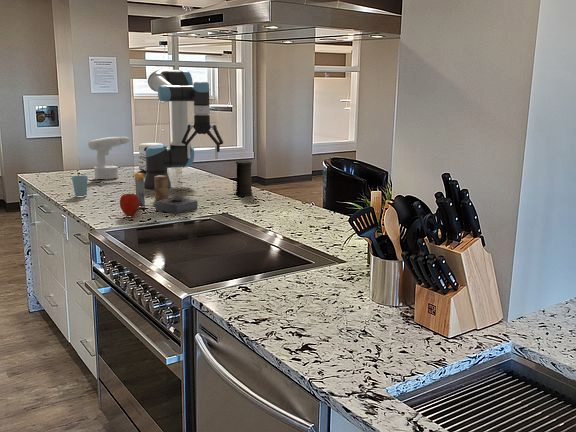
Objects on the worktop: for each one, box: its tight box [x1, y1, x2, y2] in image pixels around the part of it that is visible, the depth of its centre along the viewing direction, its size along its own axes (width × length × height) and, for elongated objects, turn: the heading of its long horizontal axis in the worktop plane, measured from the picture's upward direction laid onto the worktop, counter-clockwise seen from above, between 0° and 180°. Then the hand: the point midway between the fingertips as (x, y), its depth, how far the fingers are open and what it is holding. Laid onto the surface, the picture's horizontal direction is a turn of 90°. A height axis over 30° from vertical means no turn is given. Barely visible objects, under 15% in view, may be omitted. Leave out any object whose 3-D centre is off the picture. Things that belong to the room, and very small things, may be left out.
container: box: [235, 160, 253, 197], centre depth 305 cm, size 9×9×18 cm
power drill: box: [87, 136, 130, 180], centre depth 345 cm, size 8×24×25 cm, turn 122°
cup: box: [71, 175, 89, 197], centre depth 294 cm, size 8×8×10 cm
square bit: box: [154, 175, 170, 201], centre depth 291 cm, size 5×5×12 cm
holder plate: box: [154, 196, 199, 215], centre depth 271 cm, size 14×14×4 cm
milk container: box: [138, 142, 164, 173], centre depth 372 cm, size 17×17×18 cm
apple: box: [119, 193, 140, 217], centre depth 254 cm, size 9×8×11 cm
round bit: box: [134, 172, 146, 207], centre depth 274 cm, size 4×4×16 cm
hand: (202, 158), depth 280 cm, fingers open, 13 cm apart
